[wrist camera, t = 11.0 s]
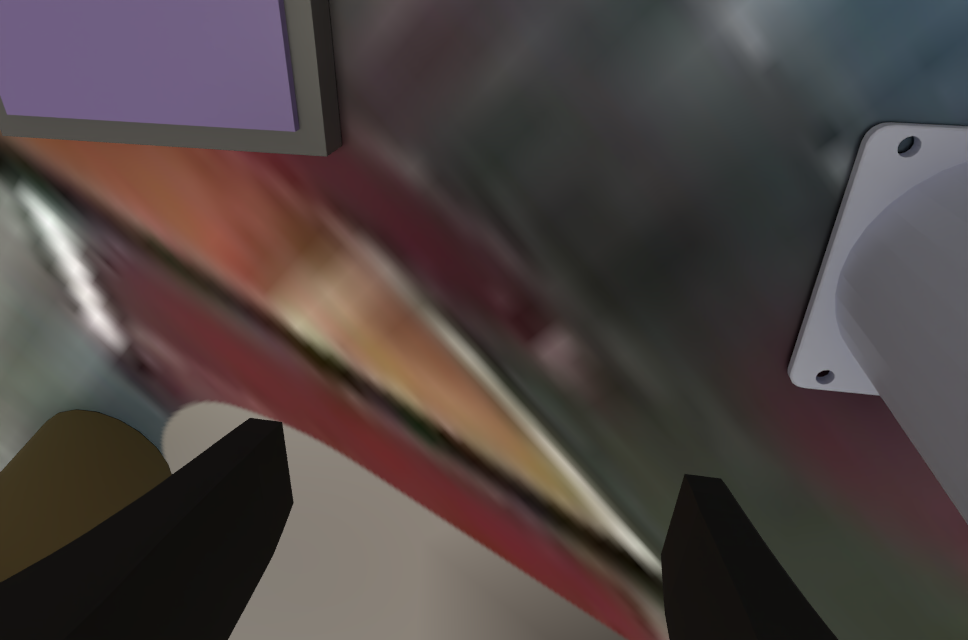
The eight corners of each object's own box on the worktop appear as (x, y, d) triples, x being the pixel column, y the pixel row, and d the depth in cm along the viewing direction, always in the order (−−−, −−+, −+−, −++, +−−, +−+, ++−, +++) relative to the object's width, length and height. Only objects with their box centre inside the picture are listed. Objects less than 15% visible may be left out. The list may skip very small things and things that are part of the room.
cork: (12, 431, 27) (-307, 687, 17) (108, 392, 25) (-194, 658, 15) (107, 526, 29) (-128, 798, 19) (201, 498, 27) (-9, 785, 17)
